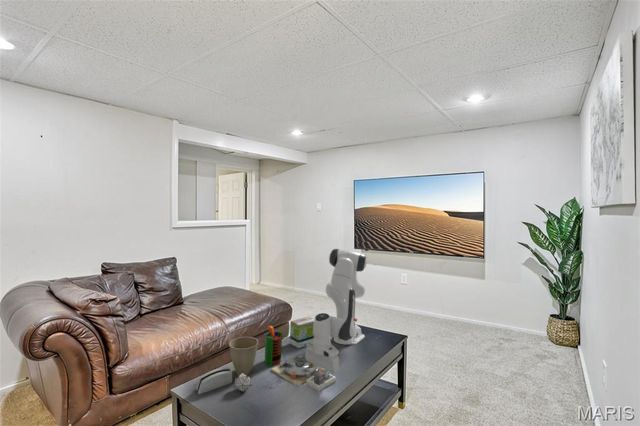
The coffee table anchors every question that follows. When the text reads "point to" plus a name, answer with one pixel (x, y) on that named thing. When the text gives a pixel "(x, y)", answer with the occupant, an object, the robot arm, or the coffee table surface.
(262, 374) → the coffee table surface
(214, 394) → the coffee table surface
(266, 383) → the coffee table surface
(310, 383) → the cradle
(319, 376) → the gray banded block
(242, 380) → the game die
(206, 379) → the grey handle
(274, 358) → the motor
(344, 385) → the coffee table surface
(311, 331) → the tea box
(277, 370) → the sprocket base
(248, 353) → the plant pot
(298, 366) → the sprocket
